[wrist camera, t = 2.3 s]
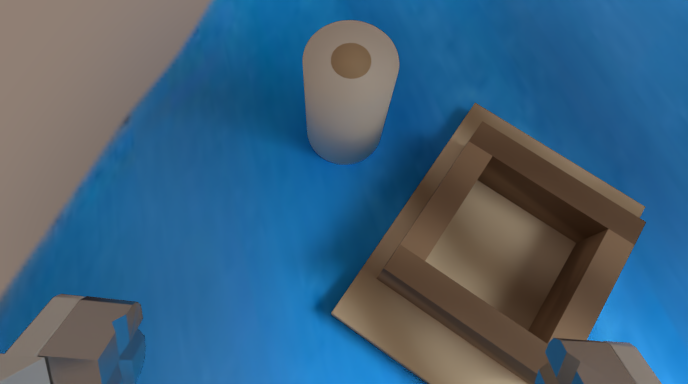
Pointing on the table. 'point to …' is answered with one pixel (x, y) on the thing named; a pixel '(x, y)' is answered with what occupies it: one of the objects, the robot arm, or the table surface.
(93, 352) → the robot arm
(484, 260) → the roll stand
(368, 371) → the table surface
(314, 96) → the paper roll
